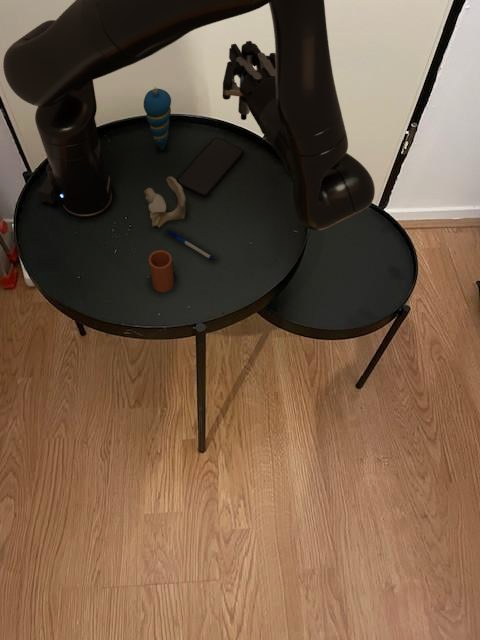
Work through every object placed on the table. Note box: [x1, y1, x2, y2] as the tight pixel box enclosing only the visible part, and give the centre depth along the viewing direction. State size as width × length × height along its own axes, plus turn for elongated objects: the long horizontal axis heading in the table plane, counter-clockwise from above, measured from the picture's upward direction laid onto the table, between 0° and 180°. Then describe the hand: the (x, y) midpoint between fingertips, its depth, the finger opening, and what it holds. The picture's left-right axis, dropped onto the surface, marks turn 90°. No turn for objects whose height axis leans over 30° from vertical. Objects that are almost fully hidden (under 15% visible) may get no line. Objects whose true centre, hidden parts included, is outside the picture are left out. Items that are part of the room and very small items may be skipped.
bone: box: [143, 176, 187, 228], centre depth 101 cm, size 9×6×10 cm
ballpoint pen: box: [167, 230, 215, 261], centre depth 101 cm, size 10×1×1 cm, turn 56°
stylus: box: [238, 42, 255, 121], centre depth 92 cm, size 2×2×14 cm
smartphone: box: [176, 137, 245, 198], centre depth 111 cm, size 7×1×15 cm
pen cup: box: [148, 249, 175, 293], centre depth 94 cm, size 4×4×7 cm
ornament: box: [143, 87, 172, 151], centre depth 107 cm, size 5×5×15 cm
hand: (240, 47), depth 89 cm, fingers closed on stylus, 2 cm apart
